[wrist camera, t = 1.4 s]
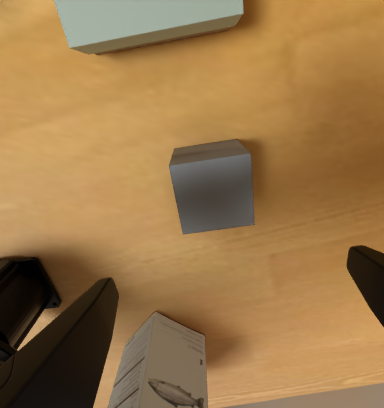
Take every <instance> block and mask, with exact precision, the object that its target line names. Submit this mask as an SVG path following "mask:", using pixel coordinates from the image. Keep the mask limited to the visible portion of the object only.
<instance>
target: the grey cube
mask: <svg viewBox="0 0 384 408" xmlns="http://www.w3.org/2000/svg"><path fill="white" fill-rule="evenodd" d="M169 169H170V174H171V179H172V184H173V188H174V193H175V198H176V203H177V208H178V213H179V218H180V223H181V227H182V232H183V234H190V233H197V232H205V231H212V230H220V229H227V228H235V227H242V226H249V225H254V205H253V185H252V164H251V153H250V152H249V151H248V150H247V149H246V148H245V147H244V146H243V145H242V144H241V143H240V142H239V141H238V140H237V139H232V140H226V141H220V142H213V143H207V144H201V145H194V146H188V147H182V148H176V149H174V151H173V154H172V158H171V161H170V164H169Z"/></svg>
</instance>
